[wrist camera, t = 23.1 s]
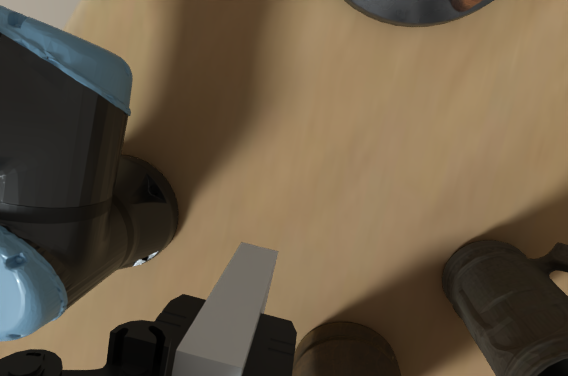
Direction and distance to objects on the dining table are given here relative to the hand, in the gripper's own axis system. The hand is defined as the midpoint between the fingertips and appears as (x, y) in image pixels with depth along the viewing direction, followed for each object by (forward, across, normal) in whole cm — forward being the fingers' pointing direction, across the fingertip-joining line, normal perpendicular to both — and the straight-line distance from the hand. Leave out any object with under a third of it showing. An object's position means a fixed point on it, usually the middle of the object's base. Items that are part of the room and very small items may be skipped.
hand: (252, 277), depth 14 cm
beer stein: (+32, -27, +8) cm, 43 cm away
